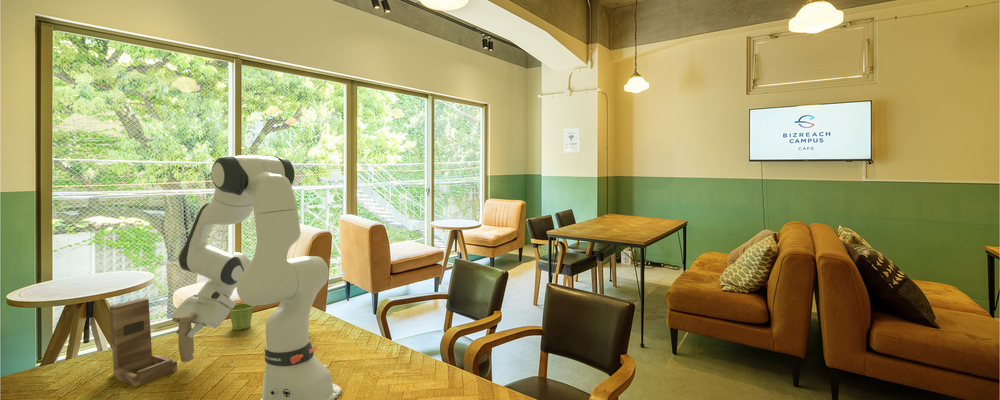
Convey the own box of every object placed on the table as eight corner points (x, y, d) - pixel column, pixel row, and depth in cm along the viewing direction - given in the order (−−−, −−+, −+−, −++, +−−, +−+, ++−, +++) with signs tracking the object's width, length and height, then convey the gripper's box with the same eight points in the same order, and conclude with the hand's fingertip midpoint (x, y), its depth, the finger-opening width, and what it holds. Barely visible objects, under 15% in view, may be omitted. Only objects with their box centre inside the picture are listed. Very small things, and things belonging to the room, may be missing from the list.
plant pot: (237, 322, 178) (237, 302, 178) (260, 323, 178) (259, 303, 177) (222, 331, 169) (221, 310, 168) (246, 332, 169) (245, 310, 168)
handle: (183, 357, 142) (180, 312, 141) (202, 357, 141) (199, 312, 140) (171, 363, 137) (168, 317, 136) (191, 364, 137) (187, 318, 135)
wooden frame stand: (177, 370, 138) (173, 303, 136) (135, 386, 128) (130, 314, 126) (151, 361, 144) (147, 296, 142) (109, 376, 133) (104, 307, 131)
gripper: (186, 288, 148) (156, 326, 140) (225, 296, 140) (195, 336, 132) (200, 298, 153) (172, 334, 144) (239, 305, 144) (210, 344, 136)
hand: (183, 335), depth 138 cm, fingers closed on handle, 4 cm apart
